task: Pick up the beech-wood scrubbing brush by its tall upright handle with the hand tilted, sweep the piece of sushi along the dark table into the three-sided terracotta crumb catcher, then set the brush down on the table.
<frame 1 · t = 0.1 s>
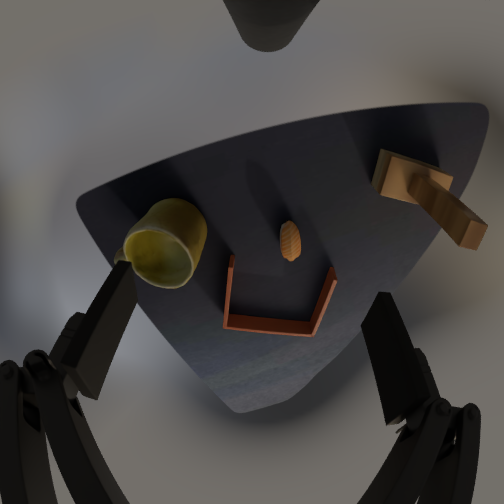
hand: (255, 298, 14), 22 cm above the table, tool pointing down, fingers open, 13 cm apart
catcher: (276, 292, 44), on the table
sushi: (289, 236, 38), on the table
mug: (166, 227, 38), on the table
brush: (407, 175, 32), on the table
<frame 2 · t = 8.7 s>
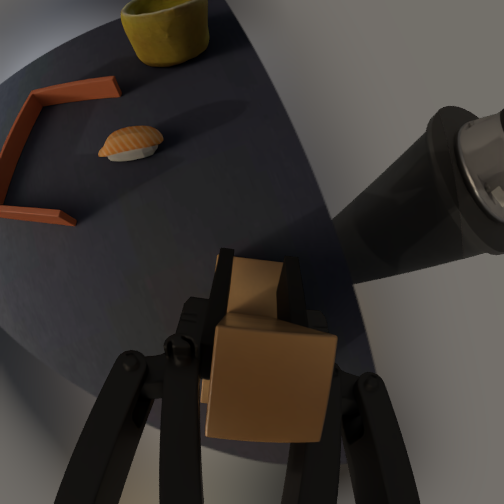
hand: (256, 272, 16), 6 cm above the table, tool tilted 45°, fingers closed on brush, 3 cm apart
catcher: (54, 152, 23), on the table
sushi: (133, 152, 23), on the table
mug: (171, 43, 27), on the table
brush: (244, 331, 21), on the table, touching gripper
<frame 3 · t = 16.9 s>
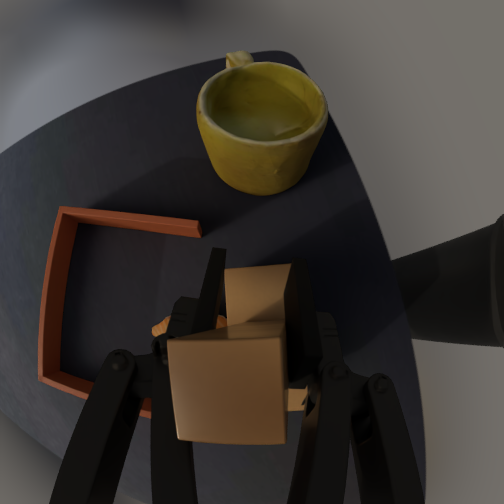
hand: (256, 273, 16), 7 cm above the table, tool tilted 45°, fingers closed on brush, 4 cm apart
catcher: (120, 311, 21), on the table
sushi: (194, 328, 22), on the table, touching brush
mug: (252, 141, 25), on the table
brush: (270, 336, 21), point 1 cm above the table, tilted 12°, touching gripper, sushi
when the fingers open (6 cm above the table, at t = 21.0 s): brush stays where it is, on the table.
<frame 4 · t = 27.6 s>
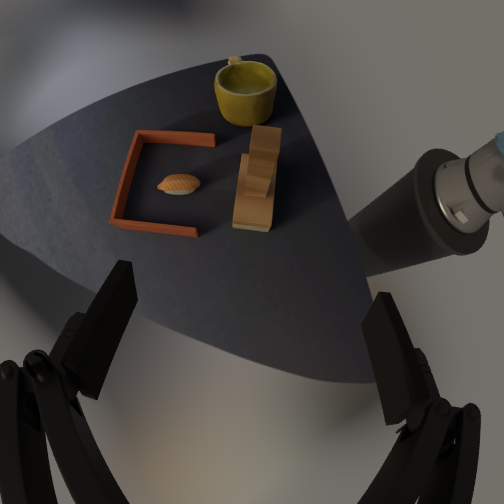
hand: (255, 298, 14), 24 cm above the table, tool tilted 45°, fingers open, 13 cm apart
catcher: (168, 183, 40), on the table
sushi: (180, 188, 40), on the table
mug: (242, 103, 44), on the table
brush: (254, 196, 40), on the table
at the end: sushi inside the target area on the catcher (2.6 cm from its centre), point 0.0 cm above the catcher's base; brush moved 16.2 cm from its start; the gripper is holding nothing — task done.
